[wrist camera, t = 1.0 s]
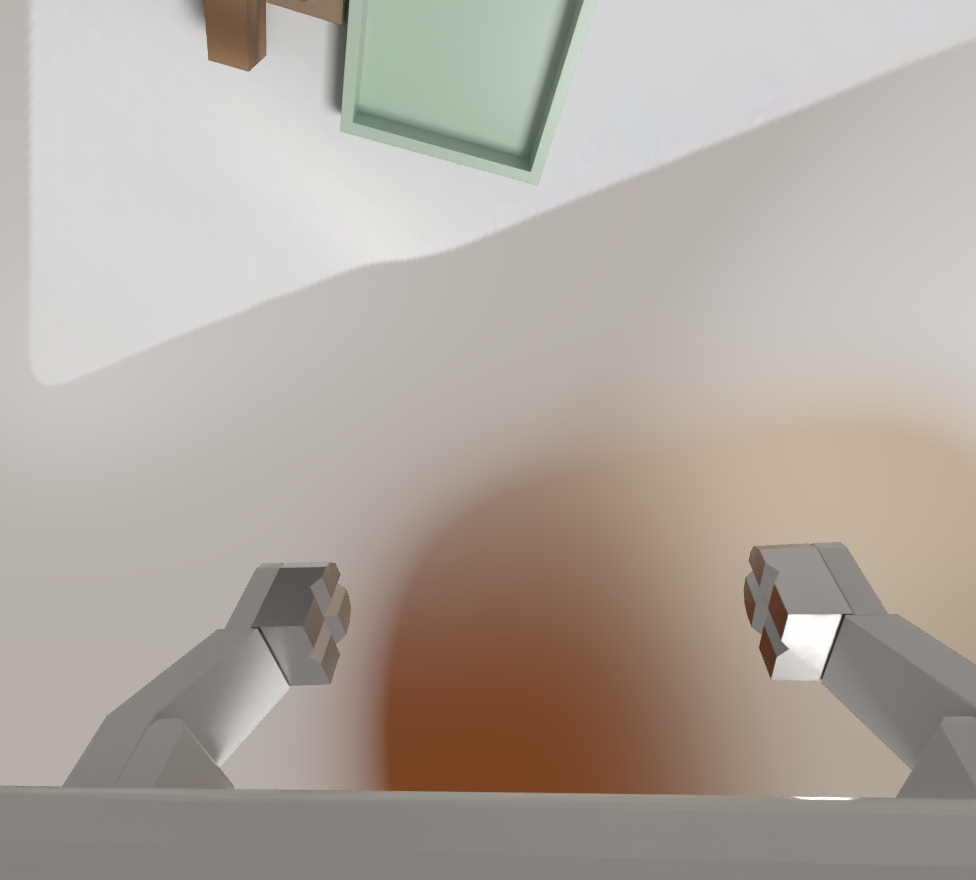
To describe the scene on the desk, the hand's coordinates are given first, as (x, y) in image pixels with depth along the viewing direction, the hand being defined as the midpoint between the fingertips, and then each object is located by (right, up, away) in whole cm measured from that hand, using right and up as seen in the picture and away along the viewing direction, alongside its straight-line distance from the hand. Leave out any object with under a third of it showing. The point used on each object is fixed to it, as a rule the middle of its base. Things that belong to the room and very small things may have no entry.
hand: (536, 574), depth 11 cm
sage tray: (-2, +32, +26) cm, 41 cm away
